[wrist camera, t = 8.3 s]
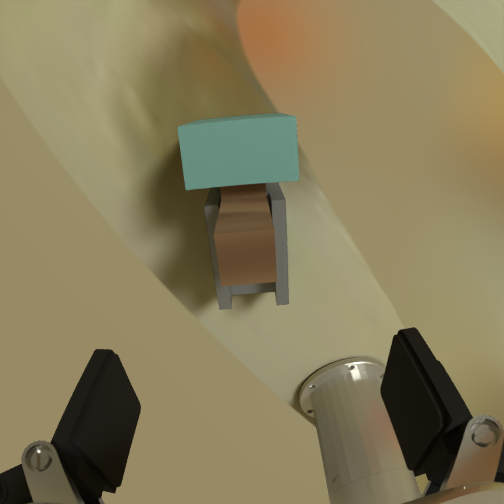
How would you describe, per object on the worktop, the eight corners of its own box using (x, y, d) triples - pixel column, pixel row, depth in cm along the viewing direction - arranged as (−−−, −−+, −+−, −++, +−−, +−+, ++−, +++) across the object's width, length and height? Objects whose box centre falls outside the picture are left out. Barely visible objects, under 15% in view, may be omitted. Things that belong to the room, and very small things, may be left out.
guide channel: (282, 273, 31) (288, 304, 27) (222, 278, 31) (219, 309, 27) (278, 182, 27) (285, 199, 23) (210, 188, 27) (204, 206, 23)
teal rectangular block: (283, 159, 26) (299, 180, 19) (201, 166, 27) (185, 190, 19) (280, 113, 25) (295, 116, 18) (196, 120, 25) (177, 126, 18)
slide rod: (266, 222, 25) (277, 281, 17) (228, 225, 25) (221, 286, 17) (260, 132, 22) (269, 148, 14) (218, 136, 22) (204, 154, 14)
